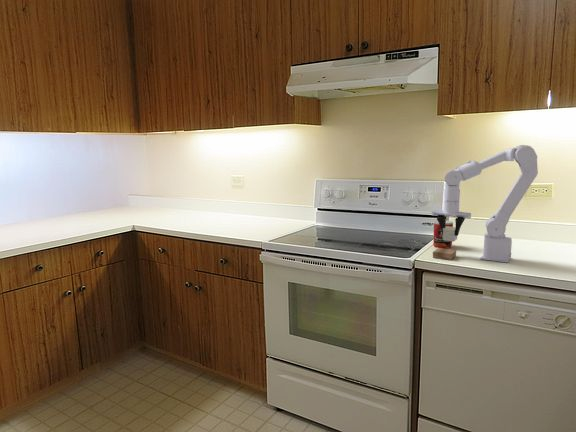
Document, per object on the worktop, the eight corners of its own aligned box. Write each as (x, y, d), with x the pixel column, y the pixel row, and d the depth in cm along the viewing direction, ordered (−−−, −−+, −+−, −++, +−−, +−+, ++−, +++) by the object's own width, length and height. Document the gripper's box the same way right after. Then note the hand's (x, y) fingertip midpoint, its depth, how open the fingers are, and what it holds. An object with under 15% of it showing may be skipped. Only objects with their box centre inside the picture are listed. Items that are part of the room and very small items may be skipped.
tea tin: (457, 239, 167) (458, 227, 166) (454, 241, 163) (454, 229, 162) (445, 237, 170) (446, 226, 169) (442, 240, 166) (442, 228, 165)
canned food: (431, 247, 180) (432, 222, 178) (434, 243, 187) (435, 219, 185) (450, 249, 176) (451, 223, 175) (453, 245, 183) (454, 220, 182)
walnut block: (456, 256, 166) (456, 250, 165) (451, 260, 160) (451, 254, 160) (438, 253, 170) (438, 247, 169) (432, 257, 164) (433, 251, 164)
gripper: (473, 200, 162) (471, 234, 165) (436, 198, 171) (434, 230, 173) (469, 203, 157) (467, 238, 159) (430, 200, 165) (429, 234, 168)
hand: (450, 234), depth 166 cm, fingers closed on tea tin, 4 cm apart
